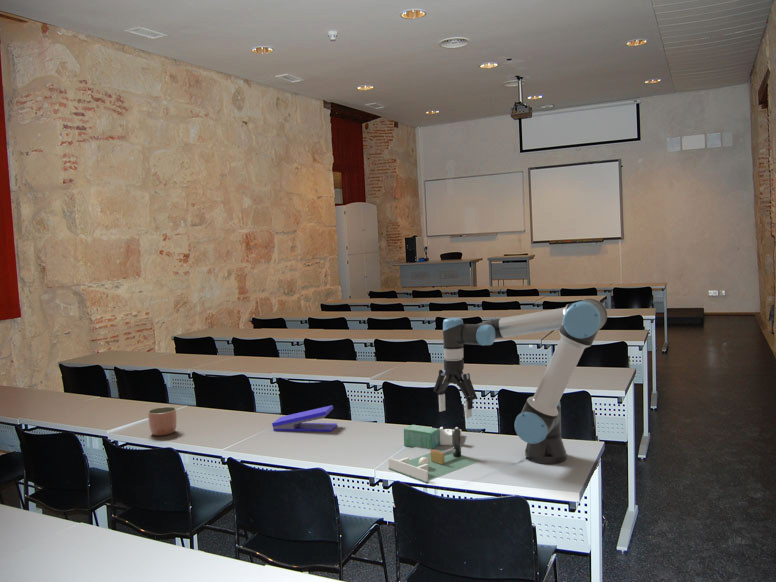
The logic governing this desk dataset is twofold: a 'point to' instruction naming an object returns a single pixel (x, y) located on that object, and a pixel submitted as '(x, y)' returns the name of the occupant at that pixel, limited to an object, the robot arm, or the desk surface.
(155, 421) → the planter
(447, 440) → the bracket
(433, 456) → the small squeegee
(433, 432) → the box
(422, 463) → the ball
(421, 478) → the pitch
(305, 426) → the stapler
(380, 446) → the desk surface
